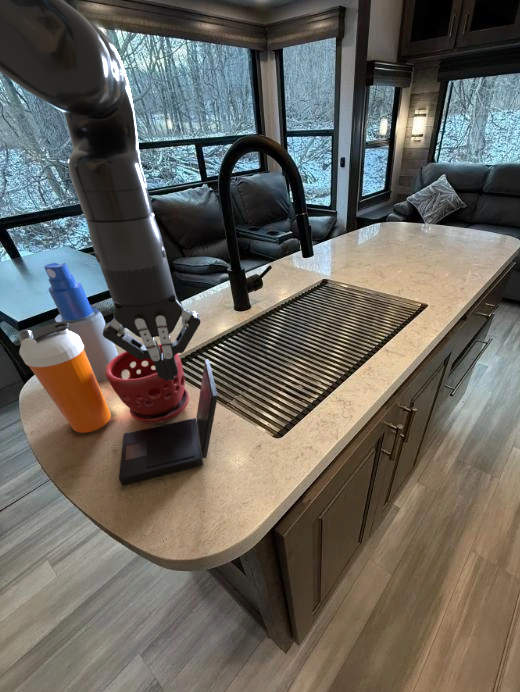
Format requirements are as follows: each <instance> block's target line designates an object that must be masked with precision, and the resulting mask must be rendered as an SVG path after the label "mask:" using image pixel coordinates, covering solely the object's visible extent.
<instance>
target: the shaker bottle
mask: <svg viewBox="0 0 520 692" xmlns="http://www.w3.org/2000/svg"><path fill="white" fill-rule="evenodd" d="M68 326H69V324H68V323H65V322H58V323H56V322H54V323H50V324H47V325H44V326H41V327H39V328H36V329H34V330H29V329H23V330H21V331H20V332H19V333H18V338H19V339H18V340H19V342H20V347H19V350H18V351H19V352H18V353H19V356H20V357H21V359H22V360H23V362H24V364H25V365H26V366H28V367H29V368H30V370H31V372H32V373H33V374H34V376H35V377H36V378H37V380H38V381H39V383H40V385H41V386H42V387H43V389H44V390H45V391H46V393H47V395H49V397H50V399H51V400H52V401H53V403H54V404H55V405H56V407H57V408H58V410H59V412H60V413H61V415H62V416H63V417H64V418H65V420H66V421H67V423H68V425H69V426H70V427H71V428H72V430H73V431H75V432H77V433H81V434H82V433H83V434H84V433H91V432H94V431H98V430H99V429H101V428H103V427H104V426H106V425H107V424H108V423H109V421H110V420H111V417H112V414H111V411H110V408H109V406H108V404H107V402H106V399H105V397H104V394H103V392H102V389H101V387H100V384H99V381H97V380H96V377H95V375H94V372H93V370H92V368H91V365H90V363H89V360H88V358H87V356H86V353H85V351H84V345H83V343H82V341H81V339H80V337H79V336H78V335H77V334H75V333H73V332H71V331H68V329H67V327H68Z"/></svg>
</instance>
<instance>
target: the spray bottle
mask: <svg viewBox="0 0 520 692" xmlns="http://www.w3.org/2000/svg"><path fill="white" fill-rule="evenodd" d="M43 268H44V270H45V272H46V274H47V276H48V282H49V284H50V287H48V292H49V294H50V297H51V299H52V300H53V302H54V305H55V306H56V309H57V310H58V312H59V313H58V315H57V316H56V317H54V320H55V323H58V322H65V323H68V324H69V326H68V327H67V329H68V331H71V332H73V333H75V334H77V335H78V336H79V337H80V339H81V341H82V343H83V345H84V351H85V353H86V356H87V358H88V360H89V363H90V365H91V368H92V370H93V372H94V375H95V377H96V380H97V382H101V381H107V380H108V378H107V376H106V367H107V365H108V364H109V362H110V361H111V360H112V359H114V358H115V357H116V356H118V355H119V353H118V349H117V348H116V346H115V345H116V344H114V343H113V342H111V341H109V340H108V339H106V338H105V337H104V336H103V329H104V327H105V324H106V323H107V322H106V320H105V319H104V316H103V314H102V312H101V311H100V310H99V308H97V307H93V306H91V304H90V301H89V299H88V297H87V294H86V292H85V290H84V287H83V285H82V283H81V282H79V281H76V279H75V277H74V275H73V274H71V272H70V270H69V268H68V265H67V263H66V262H64V263H62V264H59V263H57V262H52V263H48V264H46V265H44V266H43Z"/></svg>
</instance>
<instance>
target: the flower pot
mask: <svg viewBox="0 0 520 692" xmlns="http://www.w3.org/2000/svg"><path fill="white" fill-rule="evenodd" d="M158 345H159V348H160V351H161V353H163V350H162V346H161V343H158ZM174 357H175V361H176V365H177V369H178V374H177V375H176V376H174V377H175V379H174V380H168V381H164V378H160V377H159V376H158V374H157V371H156V368H155V369H153V368H152V367H155V365H154V362H153V361H152V360H151V359H148V358H145V359H143V360H140V359H138V358H136V357H135V356H133V355H131V354H130V353H128V352H127V351H125V350H124V351H123V352H121V353H118V356H116V357H115V358H114V359H112V360H111V361H110V362H109V364H108V365H107V367H106V376H107V378H108V379H107V381H108V382H109V384H110V386H111V388H112V389H113V391H114V392H115V394H116V395H117V396H118V398H119V399H120V401H121V402H122V403H123V404H124V405H125V406H126V407H128V408H129V413H130V415H131V417H132V418H133V419H134V420H136V421H137V422H140V423H145V424H160V423H164V422H167V421H170V420H172V419H175V418H176V417H177V416H179V415H180V414H182V412H183V411H184V410H185V409H186V408H187V406H188V405H189V402H190V394H189V392H188V390H187V389H186V388H185V386H186V381H185V379H186V378H185V372H184V367H183V363H182V359H181V357H180V355H179V353H177V354H176V355H175V356H174ZM143 362H147V365H143ZM132 363H135V365H134V366H133V367H132V366H131V364H132ZM125 370H126V371H128V372H129V377H128V378H123V376H122V373H123V371H125ZM138 370H140V372H139V373H138V372H137V371H138Z"/></svg>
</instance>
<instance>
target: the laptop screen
mask: <svg viewBox="0 0 520 692" xmlns="http://www.w3.org/2000/svg"><path fill="white" fill-rule="evenodd" d="M218 397H219V396H218V391H217V386H216V383H215V378H214V375H213V371H212V366H211V362H210V359H206V358H205V359H204V363H203V371H202V378H201V384H200V391H199V397H198V405H197V410H196V417H195V418H196V420H197V425H198V432H199V439H200V446H201V453H202V458H203V459H207V457H208V451H209V447H210V440H211V435H212V430H213V425H214V419H215V413H216V408H217V404H218V403H217V402H218Z"/></svg>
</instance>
